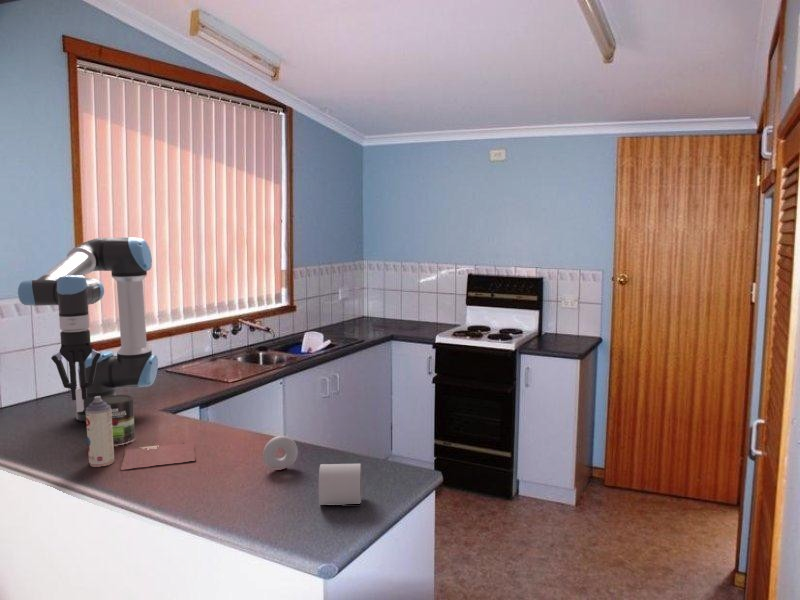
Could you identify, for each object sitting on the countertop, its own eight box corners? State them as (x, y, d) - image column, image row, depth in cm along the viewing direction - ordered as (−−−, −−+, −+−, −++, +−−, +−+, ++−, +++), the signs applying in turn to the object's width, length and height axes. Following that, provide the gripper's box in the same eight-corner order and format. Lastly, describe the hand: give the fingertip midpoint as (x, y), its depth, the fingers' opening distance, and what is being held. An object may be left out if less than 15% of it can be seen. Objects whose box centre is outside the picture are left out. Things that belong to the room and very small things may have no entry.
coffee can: (133, 445, 207) (131, 401, 205) (98, 448, 204) (95, 404, 202) (137, 434, 217) (135, 393, 215) (103, 437, 214) (101, 395, 212)
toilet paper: (361, 494, 169) (361, 457, 168) (360, 512, 159) (359, 472, 158) (322, 495, 168) (321, 458, 167) (319, 512, 159) (318, 473, 157)
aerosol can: (90, 460, 194) (86, 394, 191) (115, 457, 196) (111, 392, 193) (87, 468, 187) (82, 401, 185) (113, 465, 189) (108, 398, 187)
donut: (296, 465, 189) (295, 431, 188) (299, 469, 186) (298, 435, 185) (262, 471, 185) (260, 437, 184) (265, 475, 182) (264, 440, 181)
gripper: (46, 333, 180) (52, 416, 183) (98, 330, 184) (103, 411, 187) (51, 329, 187) (57, 409, 190) (101, 326, 191) (106, 404, 194)
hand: (80, 410), depth 188 cm, fingers closed
